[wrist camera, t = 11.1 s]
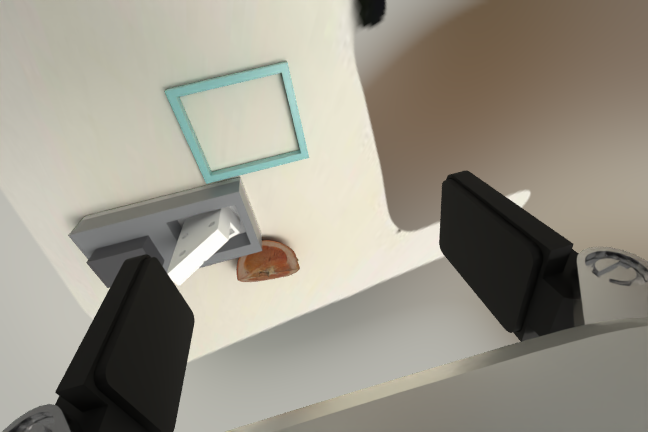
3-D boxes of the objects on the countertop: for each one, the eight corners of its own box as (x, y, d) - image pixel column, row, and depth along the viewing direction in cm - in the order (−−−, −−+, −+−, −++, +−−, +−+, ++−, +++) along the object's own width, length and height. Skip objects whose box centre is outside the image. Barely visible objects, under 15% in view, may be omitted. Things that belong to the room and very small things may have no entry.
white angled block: (150, 249, 37) (165, 275, 30) (215, 194, 40) (241, 207, 33) (172, 267, 39) (191, 296, 32) (232, 214, 42) (260, 230, 35)
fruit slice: (293, 230, 44) (298, 252, 40) (297, 265, 48) (301, 289, 43) (234, 238, 43) (232, 261, 39) (242, 274, 46) (241, 298, 42)
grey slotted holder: (84, 216, 37) (56, 248, 31) (240, 176, 38) (238, 201, 33) (125, 269, 42) (106, 305, 36) (261, 233, 43) (262, 263, 38)
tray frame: (167, 88, 31) (164, 91, 30) (286, 61, 32) (287, 62, 31) (207, 179, 37) (206, 183, 36) (307, 154, 38) (309, 157, 37)
